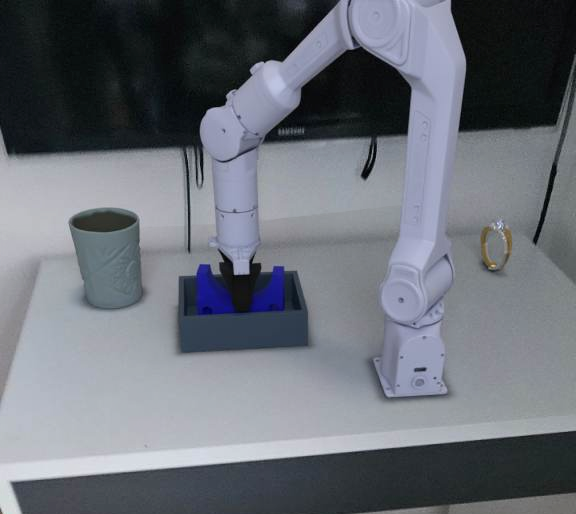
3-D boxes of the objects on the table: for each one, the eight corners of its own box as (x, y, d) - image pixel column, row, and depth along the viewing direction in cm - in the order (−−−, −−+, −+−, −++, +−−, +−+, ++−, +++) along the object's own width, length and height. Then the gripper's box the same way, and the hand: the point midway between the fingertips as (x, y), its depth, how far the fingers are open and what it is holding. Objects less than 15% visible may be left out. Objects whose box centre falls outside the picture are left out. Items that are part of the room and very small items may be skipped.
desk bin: (307, 345, 107) (308, 312, 103) (181, 352, 106) (178, 318, 102) (296, 302, 117) (297, 270, 114) (182, 307, 116) (178, 275, 112)
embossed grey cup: (79, 287, 121) (64, 211, 113) (142, 278, 124) (132, 203, 116) (87, 315, 114) (72, 236, 106) (154, 305, 116) (144, 227, 108)
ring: (472, 262, 128) (480, 214, 122) (490, 259, 128) (498, 211, 123) (492, 279, 123) (501, 229, 117) (510, 276, 123) (519, 227, 118)
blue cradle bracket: (198, 317, 108) (194, 278, 104) (203, 303, 112) (199, 263, 108) (282, 320, 108) (281, 280, 103) (284, 305, 111) (284, 266, 107)
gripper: (204, 187, 105) (211, 281, 114) (207, 227, 94) (214, 327, 103) (255, 185, 105) (258, 279, 114) (264, 225, 95) (266, 324, 104)
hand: (241, 302), depth 109 cm, fingers closed on blue cradle bracket, 5 cm apart
